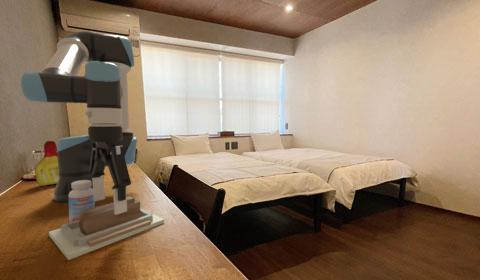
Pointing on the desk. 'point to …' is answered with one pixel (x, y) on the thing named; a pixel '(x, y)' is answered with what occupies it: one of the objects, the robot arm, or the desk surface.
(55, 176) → the bottle
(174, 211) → the desk surface
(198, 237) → the desk surface
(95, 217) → the brown block
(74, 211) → the pill bottle
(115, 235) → the tray
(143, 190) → the desk surface
